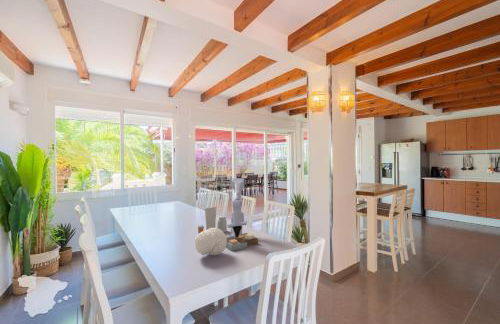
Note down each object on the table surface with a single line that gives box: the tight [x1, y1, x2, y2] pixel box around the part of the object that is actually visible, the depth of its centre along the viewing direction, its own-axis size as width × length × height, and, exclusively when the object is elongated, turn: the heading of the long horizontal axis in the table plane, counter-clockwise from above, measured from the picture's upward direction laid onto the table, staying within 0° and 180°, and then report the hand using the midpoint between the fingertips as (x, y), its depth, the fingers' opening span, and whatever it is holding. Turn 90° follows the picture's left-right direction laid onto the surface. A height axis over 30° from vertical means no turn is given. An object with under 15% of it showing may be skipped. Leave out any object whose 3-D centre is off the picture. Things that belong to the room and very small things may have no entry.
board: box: [235, 232, 259, 247], centre depth 167 cm, size 14×10×4 cm
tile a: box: [229, 239, 238, 245], centre depth 163 cm, size 4×4×2 cm
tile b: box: [245, 233, 255, 239], centre depth 164 cm, size 4×4×2 cm
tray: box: [225, 236, 248, 252], centre depth 160 cm, size 16×12×4 cm
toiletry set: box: [197, 206, 228, 235], centre depth 187 cm, size 25×8×21 cm, turn 129°
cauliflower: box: [194, 227, 227, 256], centre depth 142 cm, size 20×18×16 cm
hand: (236, 236), depth 165 cm, fingers closed
